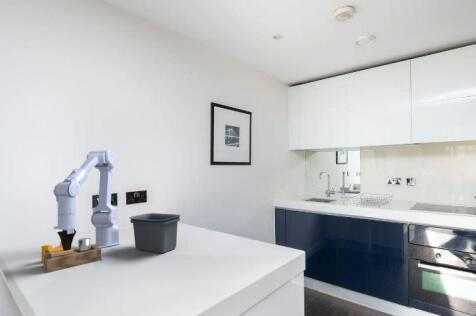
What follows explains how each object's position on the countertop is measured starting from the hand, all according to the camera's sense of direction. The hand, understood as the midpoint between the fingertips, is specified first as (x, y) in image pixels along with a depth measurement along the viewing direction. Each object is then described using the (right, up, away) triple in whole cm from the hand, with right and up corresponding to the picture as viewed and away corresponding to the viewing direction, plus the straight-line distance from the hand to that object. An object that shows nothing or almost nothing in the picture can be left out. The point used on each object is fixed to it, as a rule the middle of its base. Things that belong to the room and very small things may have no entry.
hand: (66, 250), depth 98 cm
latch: (-2, -1, -2) cm, 3 cm away
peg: (+4, -5, +4) cm, 8 cm away
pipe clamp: (-10, -6, +8) cm, 14 cm away
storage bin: (+29, -5, +17) cm, 34 cm away
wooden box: (+2, -5, +1) cm, 5 cm away
